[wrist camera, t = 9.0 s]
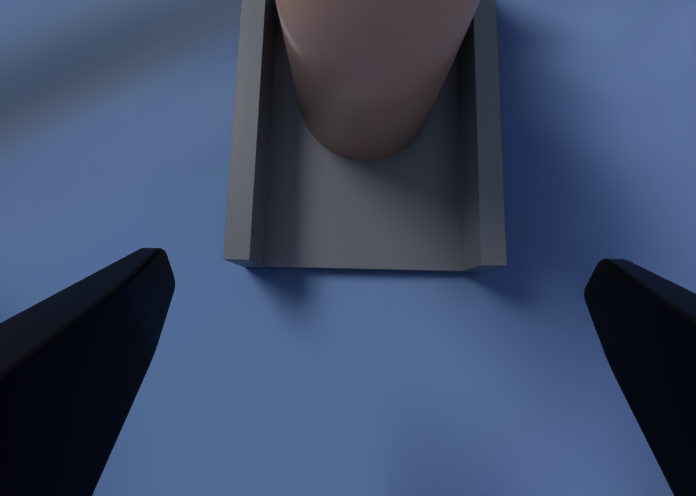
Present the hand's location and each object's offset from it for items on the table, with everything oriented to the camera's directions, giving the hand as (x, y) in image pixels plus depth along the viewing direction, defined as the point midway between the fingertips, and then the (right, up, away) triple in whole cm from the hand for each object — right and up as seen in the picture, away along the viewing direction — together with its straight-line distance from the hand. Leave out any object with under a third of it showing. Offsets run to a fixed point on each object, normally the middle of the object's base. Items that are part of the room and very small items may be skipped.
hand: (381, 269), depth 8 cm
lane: (0, +7, +11) cm, 13 cm away
